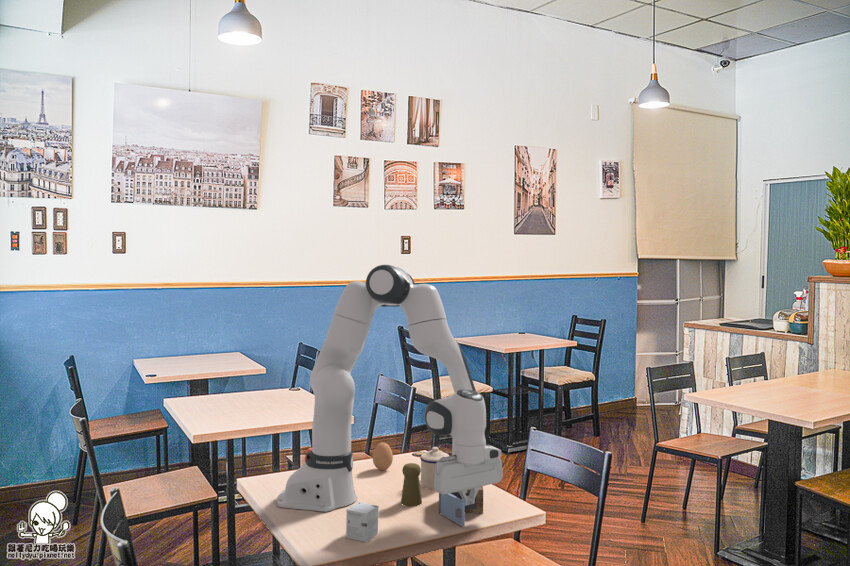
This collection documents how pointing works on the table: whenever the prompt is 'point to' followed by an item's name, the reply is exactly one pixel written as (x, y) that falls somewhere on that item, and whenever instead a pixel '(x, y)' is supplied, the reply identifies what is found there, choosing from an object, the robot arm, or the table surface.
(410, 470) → the olive green pepper mill
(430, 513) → the table surface
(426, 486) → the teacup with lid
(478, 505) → the case
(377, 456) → the egg
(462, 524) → the door
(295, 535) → the table surface
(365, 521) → the skincare box
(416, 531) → the table surface
